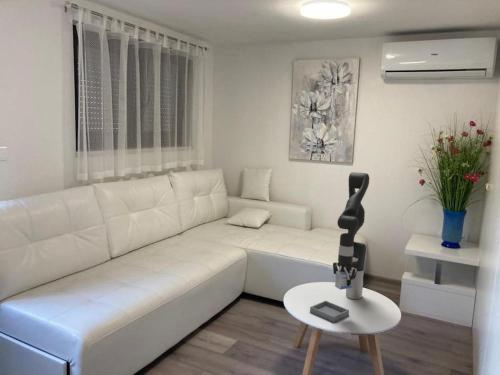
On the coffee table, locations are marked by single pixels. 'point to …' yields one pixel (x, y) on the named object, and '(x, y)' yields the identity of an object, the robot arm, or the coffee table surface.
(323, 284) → the coffee table surface
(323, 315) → the tray
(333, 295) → the coffee table surface
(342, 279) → the medicine box
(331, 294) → the coffee table surface
